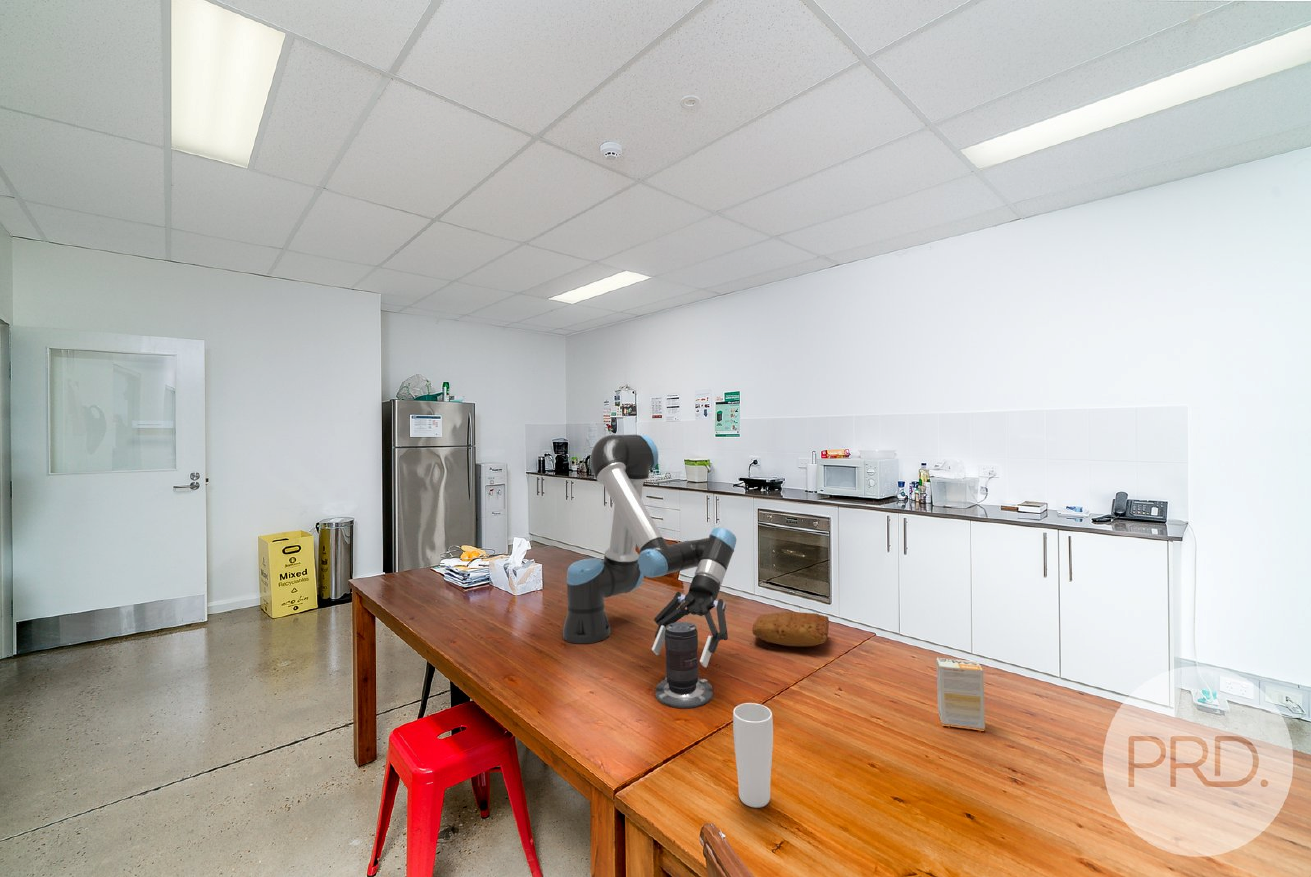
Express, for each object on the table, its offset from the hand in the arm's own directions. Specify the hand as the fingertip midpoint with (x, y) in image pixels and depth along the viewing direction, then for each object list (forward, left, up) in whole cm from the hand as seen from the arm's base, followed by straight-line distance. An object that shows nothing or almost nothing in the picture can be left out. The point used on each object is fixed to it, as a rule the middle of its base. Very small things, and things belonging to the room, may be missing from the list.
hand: (678, 658), depth 128 cm
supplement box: (+46, +40, -10) cm, 62 cm away
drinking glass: (+36, -12, -10) cm, 39 cm away
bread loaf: (-6, +47, -10) cm, 49 cm away
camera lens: (-1, +2, -8) cm, 9 cm away
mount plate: (-1, +2, -9) cm, 10 cm away
